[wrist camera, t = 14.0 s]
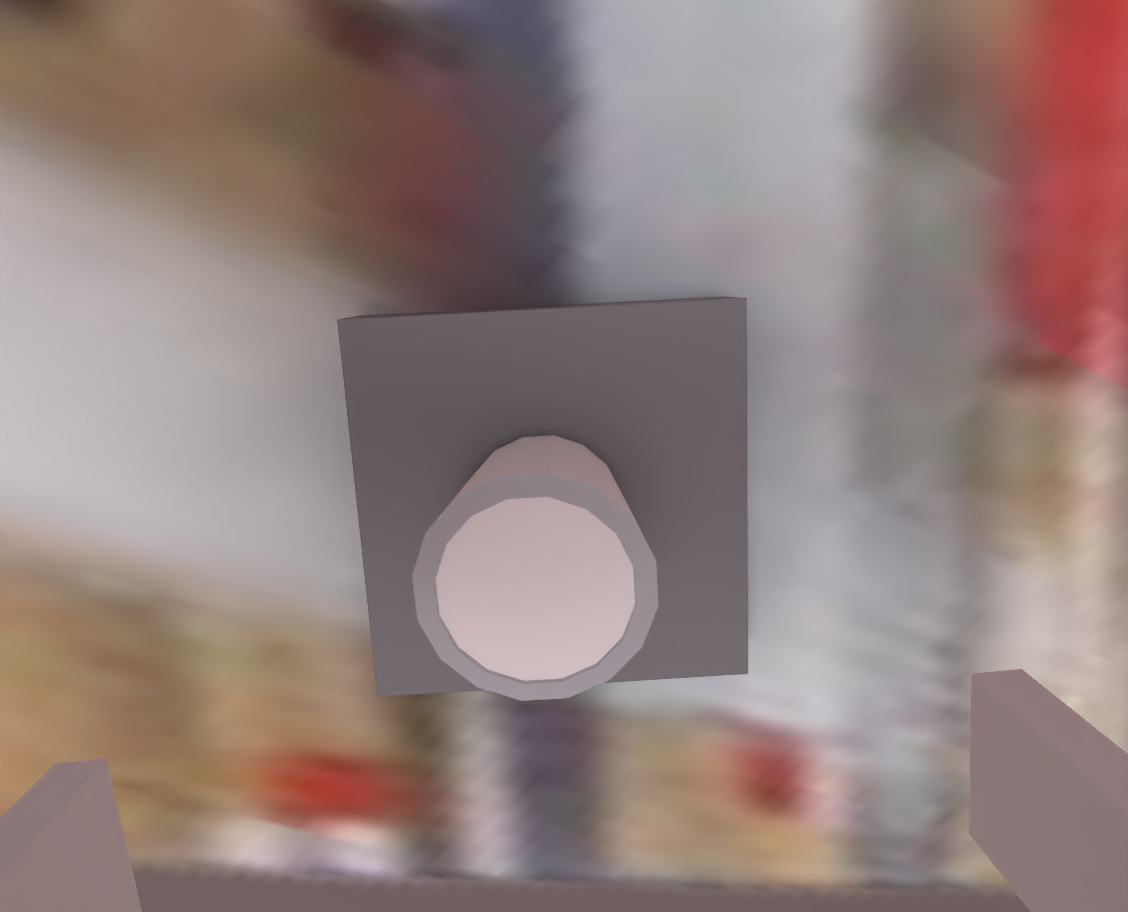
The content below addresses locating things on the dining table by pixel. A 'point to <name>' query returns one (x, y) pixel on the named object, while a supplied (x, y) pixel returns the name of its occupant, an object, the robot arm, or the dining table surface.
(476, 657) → the shot glass
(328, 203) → the dining table surface
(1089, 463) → the dining table surface
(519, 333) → the block
